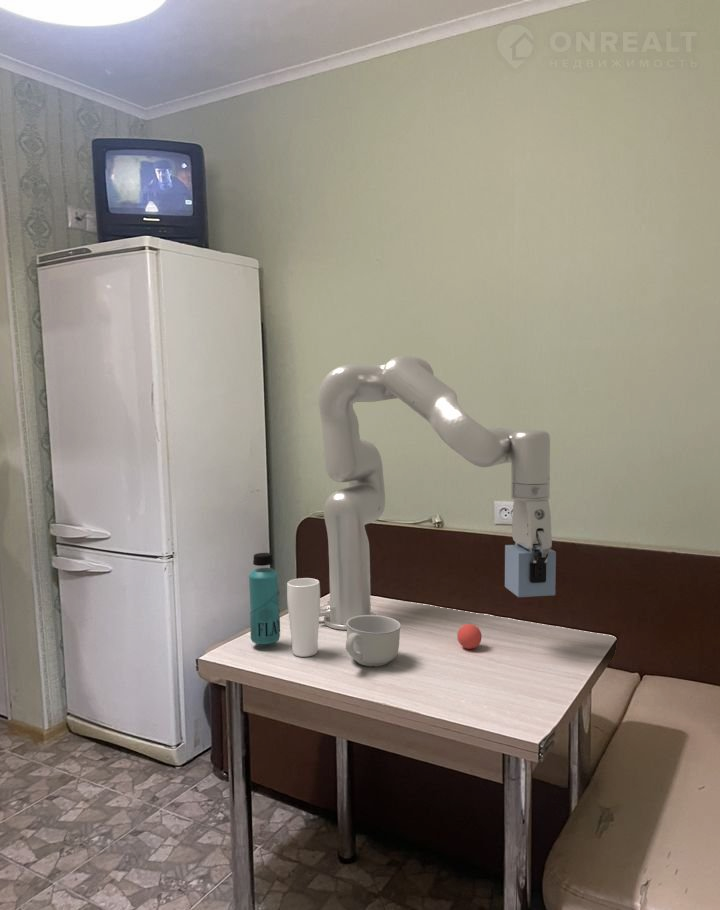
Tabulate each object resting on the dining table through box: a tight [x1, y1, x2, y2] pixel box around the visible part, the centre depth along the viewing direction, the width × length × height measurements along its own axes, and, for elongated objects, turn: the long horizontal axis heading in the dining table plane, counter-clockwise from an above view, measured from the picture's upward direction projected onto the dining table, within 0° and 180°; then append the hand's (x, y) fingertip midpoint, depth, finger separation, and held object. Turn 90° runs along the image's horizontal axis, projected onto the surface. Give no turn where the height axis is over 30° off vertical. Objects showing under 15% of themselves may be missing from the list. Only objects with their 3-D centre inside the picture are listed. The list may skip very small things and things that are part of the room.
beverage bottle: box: [248, 552, 281, 645], centre depth 149 cm, size 6×7×20 cm
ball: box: [456, 623, 483, 650], centre depth 146 cm, size 5×5×5 cm
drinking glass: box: [286, 577, 321, 658], centre depth 144 cm, size 7×7×15 cm
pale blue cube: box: [504, 544, 557, 598], centre depth 142 cm, size 8×8×9 cm
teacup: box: [345, 614, 402, 667], centre depth 138 cm, size 14×11×8 cm
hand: (529, 576), depth 142 cm, fingers closed on pale blue cube, 7 cm apart
